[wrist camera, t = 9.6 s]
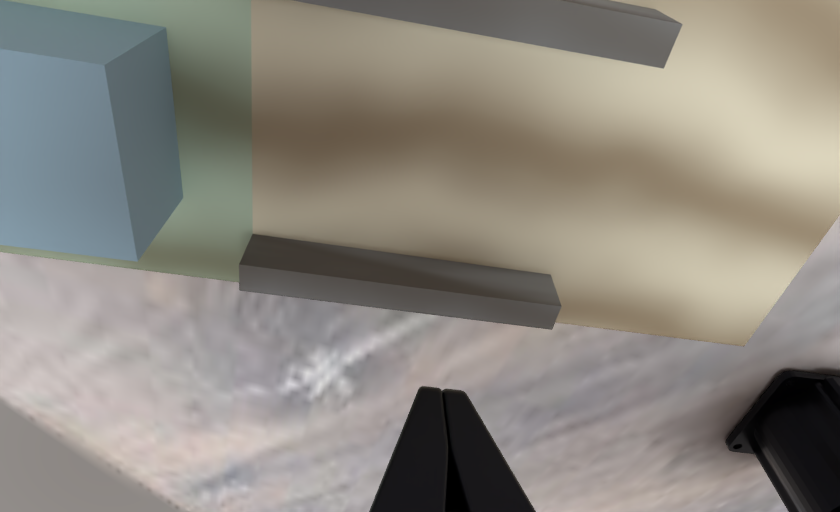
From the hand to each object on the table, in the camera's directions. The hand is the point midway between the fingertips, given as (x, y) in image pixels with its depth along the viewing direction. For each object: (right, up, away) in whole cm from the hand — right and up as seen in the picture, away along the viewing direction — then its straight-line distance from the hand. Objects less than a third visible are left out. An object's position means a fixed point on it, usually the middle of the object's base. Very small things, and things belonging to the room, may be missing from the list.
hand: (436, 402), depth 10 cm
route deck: (-5, +8, +10) cm, 14 cm away
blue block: (-11, +8, +8) cm, 16 cm away
